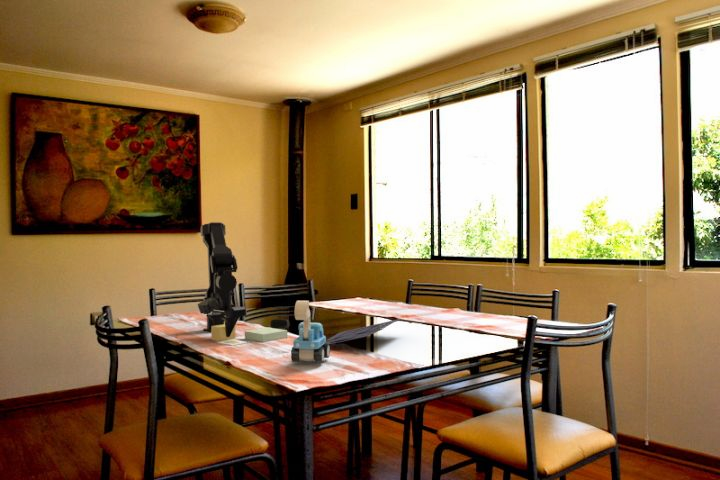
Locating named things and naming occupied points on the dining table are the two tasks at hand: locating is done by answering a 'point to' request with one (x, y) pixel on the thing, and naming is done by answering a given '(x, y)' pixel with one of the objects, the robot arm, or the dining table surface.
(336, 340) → the dark grey flat panel
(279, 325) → the tape measure
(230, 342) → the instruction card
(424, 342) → the dining table surface
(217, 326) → the top brick
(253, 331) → the base brick
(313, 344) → the toy excavator
